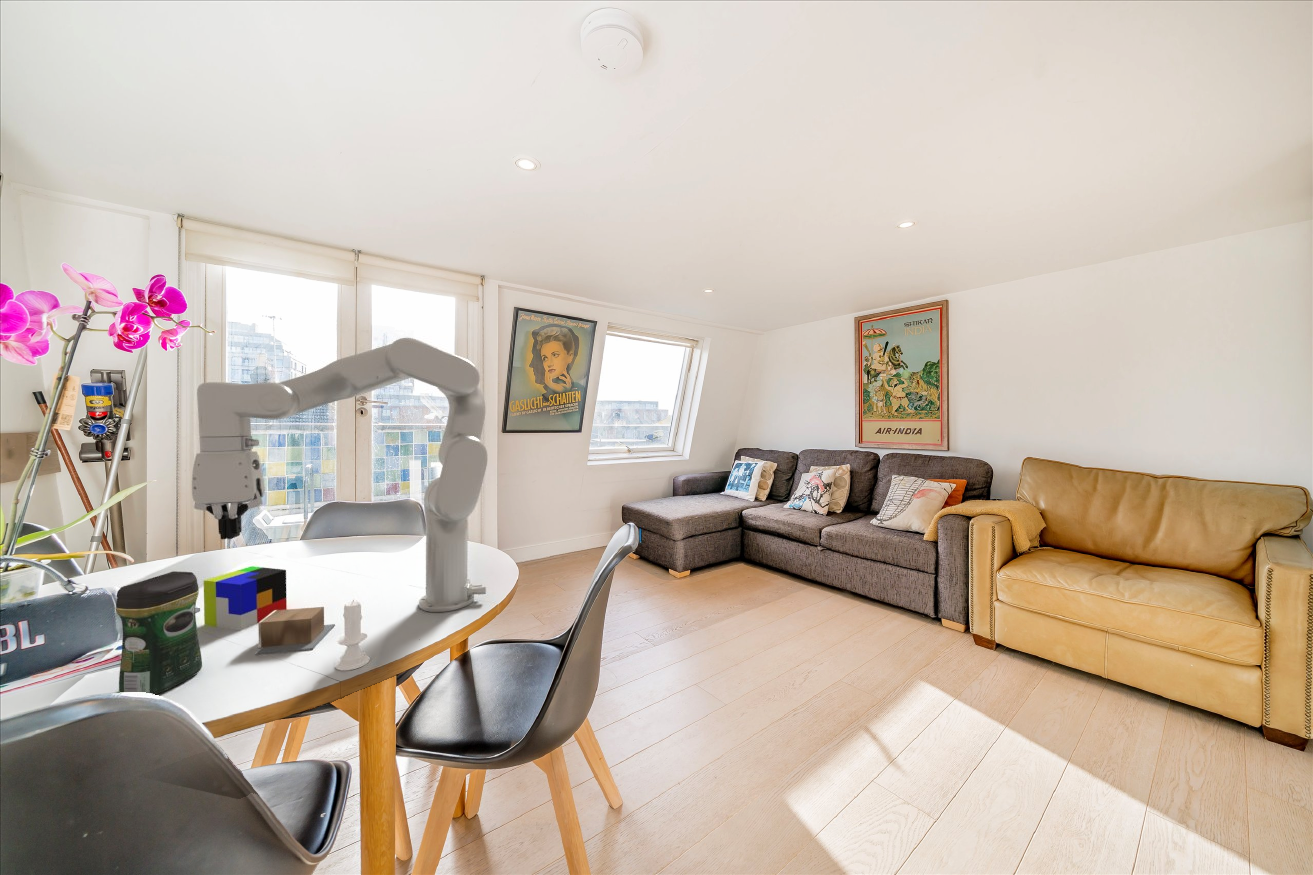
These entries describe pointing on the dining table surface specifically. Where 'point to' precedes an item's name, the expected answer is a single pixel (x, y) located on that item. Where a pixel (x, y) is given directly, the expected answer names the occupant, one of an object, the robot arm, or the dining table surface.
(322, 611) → the block
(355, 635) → the candle
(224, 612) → the puzzle toy
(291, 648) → the mat
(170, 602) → the coffee jar
